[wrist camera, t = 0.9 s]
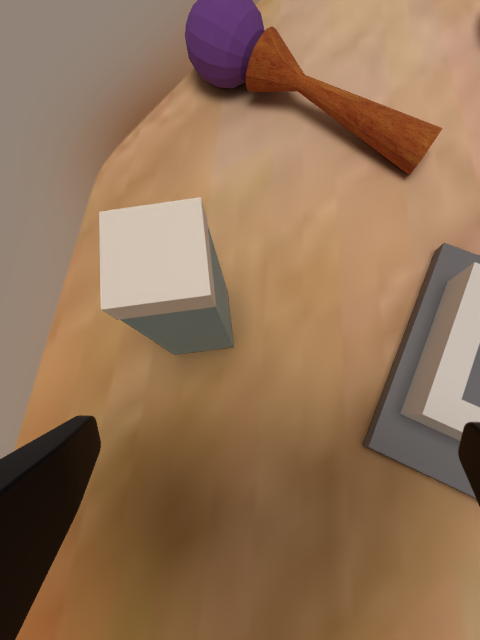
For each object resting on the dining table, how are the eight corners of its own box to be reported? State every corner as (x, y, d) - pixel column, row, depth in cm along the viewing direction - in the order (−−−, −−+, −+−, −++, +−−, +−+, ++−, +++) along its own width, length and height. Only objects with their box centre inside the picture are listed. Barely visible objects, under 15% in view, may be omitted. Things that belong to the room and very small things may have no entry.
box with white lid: (234, 347, 23) (210, 295, 13) (174, 355, 24) (100, 309, 13) (227, 290, 25) (200, 197, 14) (170, 297, 25) (99, 211, 14)
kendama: (417, 167, 22) (159, 21, 24) (387, 204, 28) (182, 83, 30) (472, 86, 22) (207, -53, 24) (430, 140, 28) (221, 24, 30)
